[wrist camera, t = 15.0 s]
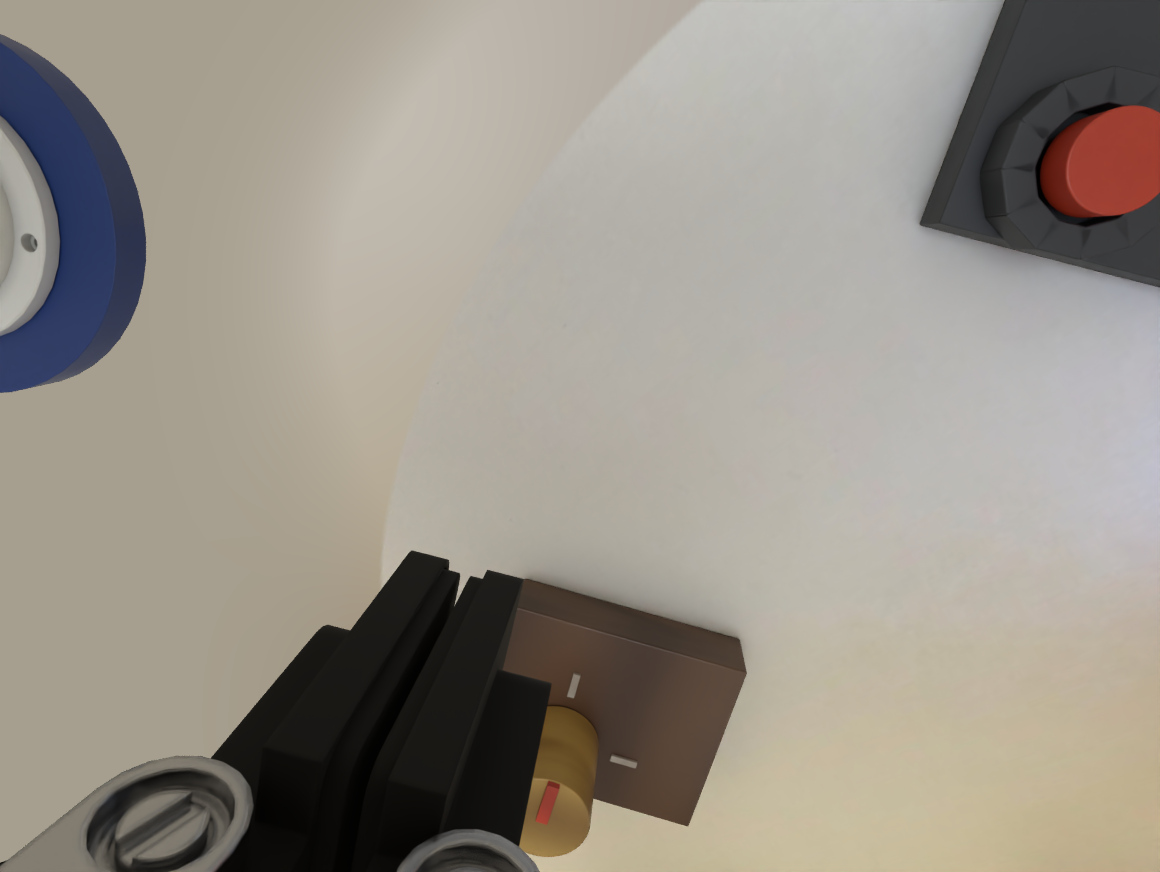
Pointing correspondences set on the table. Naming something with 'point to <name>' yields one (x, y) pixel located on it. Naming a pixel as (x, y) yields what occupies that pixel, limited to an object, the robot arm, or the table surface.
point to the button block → (1051, 131)
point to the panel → (632, 692)
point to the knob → (561, 785)
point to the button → (1104, 163)
